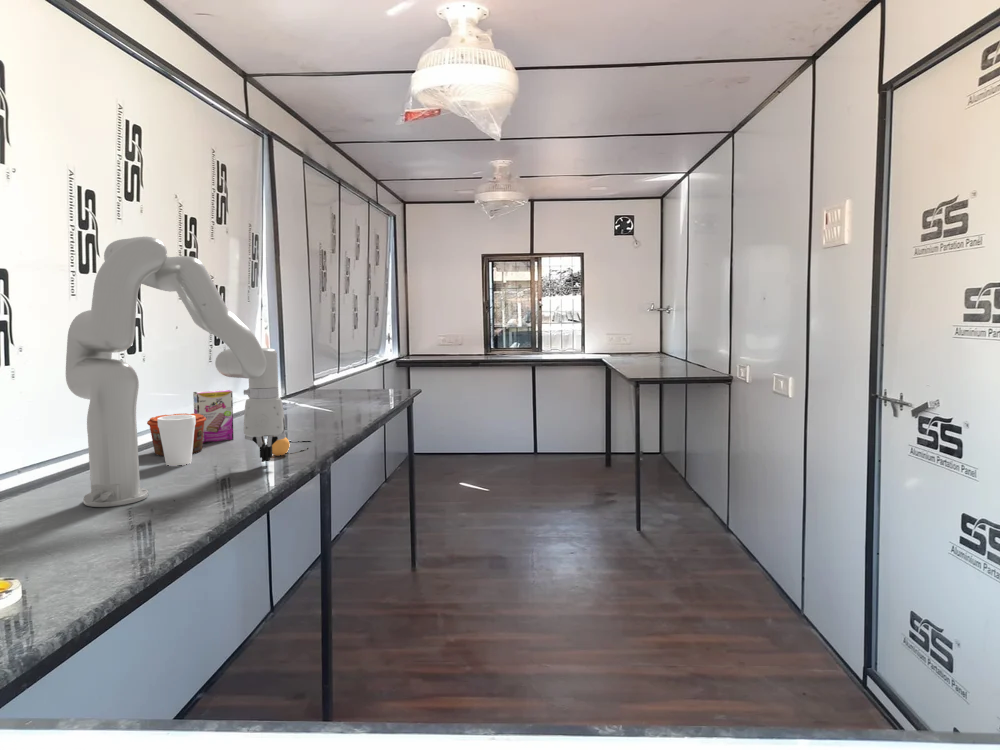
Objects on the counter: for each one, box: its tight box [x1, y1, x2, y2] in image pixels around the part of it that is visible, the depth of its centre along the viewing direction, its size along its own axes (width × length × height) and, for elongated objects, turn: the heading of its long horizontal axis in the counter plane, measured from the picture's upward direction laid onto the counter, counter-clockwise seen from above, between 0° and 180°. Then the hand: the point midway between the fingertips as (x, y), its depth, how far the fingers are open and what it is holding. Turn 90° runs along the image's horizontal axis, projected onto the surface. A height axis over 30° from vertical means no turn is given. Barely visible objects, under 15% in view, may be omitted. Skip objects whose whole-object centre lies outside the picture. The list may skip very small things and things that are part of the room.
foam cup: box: [157, 414, 196, 467], centre depth 185 cm, size 10×9×13 cm
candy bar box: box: [193, 389, 234, 444], centre depth 217 cm, size 11×5×16 cm, turn 130°
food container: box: [146, 413, 206, 457], centre depth 200 cm, size 16×16×11 cm
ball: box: [272, 436, 291, 457], centre depth 195 cm, size 6×6×6 cm
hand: (266, 460), depth 183 cm, fingers closed
